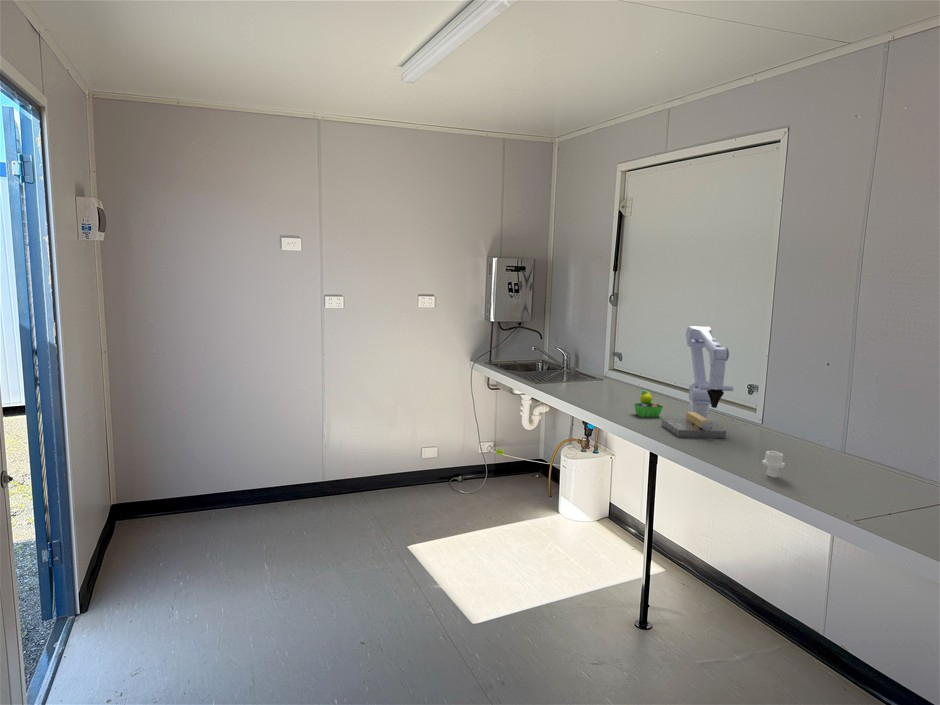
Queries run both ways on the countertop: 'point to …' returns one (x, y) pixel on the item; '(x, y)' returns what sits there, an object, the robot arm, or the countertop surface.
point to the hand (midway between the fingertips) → (713, 407)
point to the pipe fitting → (773, 462)
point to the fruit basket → (647, 406)
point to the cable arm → (699, 420)
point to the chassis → (691, 429)
